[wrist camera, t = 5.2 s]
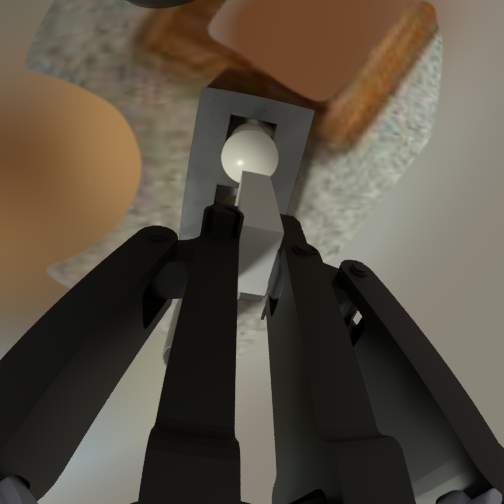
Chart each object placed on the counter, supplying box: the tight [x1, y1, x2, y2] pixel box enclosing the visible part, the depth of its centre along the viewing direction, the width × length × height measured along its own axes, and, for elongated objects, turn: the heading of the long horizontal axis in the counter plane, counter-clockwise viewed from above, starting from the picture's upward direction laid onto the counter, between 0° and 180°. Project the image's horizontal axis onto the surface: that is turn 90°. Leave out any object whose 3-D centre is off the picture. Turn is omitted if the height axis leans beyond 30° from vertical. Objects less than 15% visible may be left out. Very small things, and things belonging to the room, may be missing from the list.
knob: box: [221, 123, 279, 183], centre depth 27 cm, size 5×5×8 cm
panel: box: [179, 87, 315, 302], centre depth 36 cm, size 26×12×3 cm, turn 168°
